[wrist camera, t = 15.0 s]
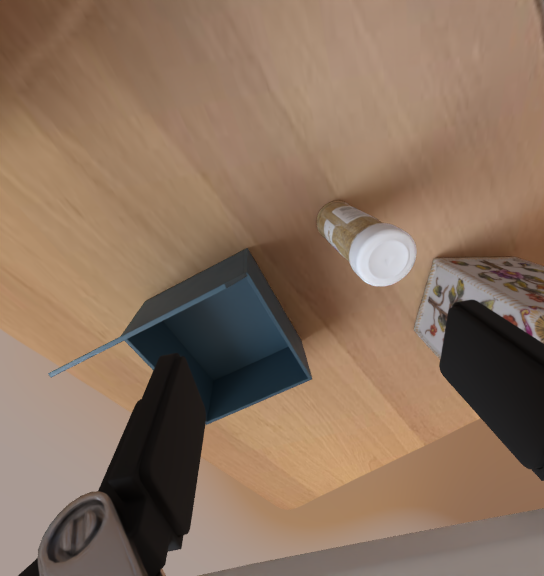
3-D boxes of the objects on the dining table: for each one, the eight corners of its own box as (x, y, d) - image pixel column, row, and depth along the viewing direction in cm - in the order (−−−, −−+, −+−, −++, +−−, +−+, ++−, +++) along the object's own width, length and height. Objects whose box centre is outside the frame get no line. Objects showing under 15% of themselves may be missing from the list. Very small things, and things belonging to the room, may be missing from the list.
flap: (118, 341, 27) (116, 338, 27) (247, 276, 25) (245, 272, 25) (50, 377, 20) (47, 373, 20) (226, 288, 18) (224, 283, 18)
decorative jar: (485, 329, 41) (639, 443, 25) (410, 331, 40) (519, 452, 24) (518, 252, 36) (741, 335, 19) (432, 253, 35) (592, 340, 19)
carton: (144, 301, 35) (120, 336, 28) (247, 247, 33) (247, 271, 26) (213, 381, 41) (206, 425, 35) (301, 341, 39) (312, 379, 33)
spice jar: (309, 230, 32) (345, 276, 20) (327, 193, 30) (379, 218, 18) (342, 244, 33) (395, 296, 21) (361, 209, 32) (432, 243, 20)
